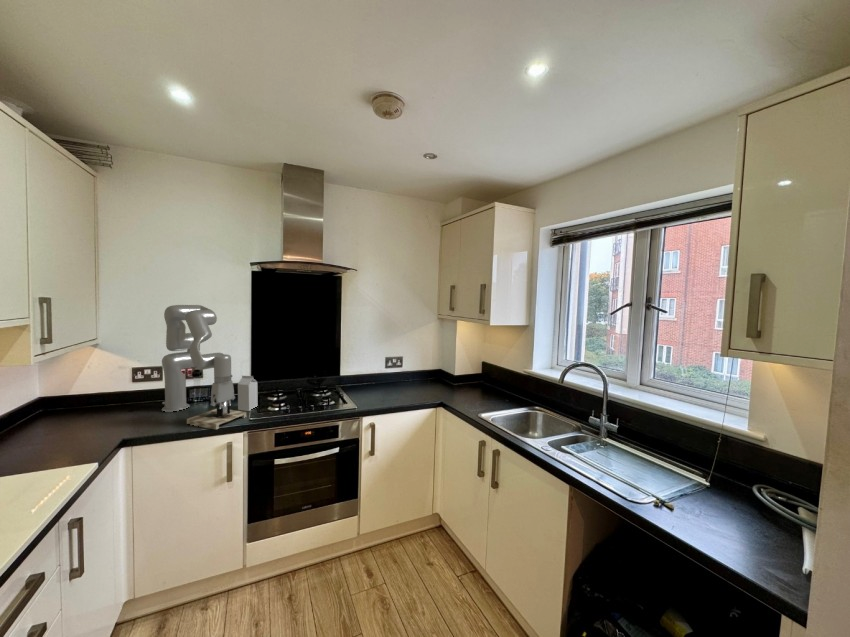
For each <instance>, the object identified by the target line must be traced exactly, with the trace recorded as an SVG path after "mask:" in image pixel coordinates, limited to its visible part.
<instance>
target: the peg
mask: <svg viewBox="0 0 850 637" xmlns="http://www.w3.org/2000/svg"><path fill="white" fill-rule="evenodd" d="M222 409H223V416H218V418H224V417H227V416H228V406H227V401H225V402H222ZM230 422H231V420H230V421H227V422H225V423H222V424H221V425H224V424H228V423H230Z"/></svg>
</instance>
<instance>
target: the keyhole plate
mask: <svg viewBox="0 0 850 637" xmlns="http://www.w3.org/2000/svg"><path fill="white" fill-rule="evenodd" d="M210 414H213V415H214V414H215V415H217V408H214V409H212V410H209V411H206V412H203V413H200V414H197V415H194V416H192V417H188V418H186V425H187V424H190V425H189V426H192V425H194V426H193V427H198V426H199V427H198V428H205V429H211V430H218V429H220V425H223V424H222V423H225V422H227V421H230V422H231V421H233V420H234V419H237V418H239V417H242V418H241V419H246V418H247V411H243V410H233V409H230V413H229V414H228V416H227V417H224V418H219V417H218V416H217V417H216V416H210V417H208V416H206V415H210ZM245 417H246V418H245ZM225 424H226V423H225Z"/></svg>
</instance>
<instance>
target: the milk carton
mask: <svg viewBox="0 0 850 637" xmlns="http://www.w3.org/2000/svg"><path fill="white" fill-rule="evenodd" d="M258 392H259V391H258V381H257V380H256V379H254V375H241V379H240V380H239V381H238V383H237V411H242V412H250V411H252V410H251V409H253V408H255V407H257V406H259V405H258V402H259V401H258V397H259V396H258ZM257 408H258V407H257ZM255 409H256V408H255ZM253 410H254V409H253Z"/></svg>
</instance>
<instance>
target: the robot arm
mask: <svg viewBox="0 0 850 637" xmlns="http://www.w3.org/2000/svg"><path fill="white" fill-rule="evenodd" d="M163 314H164V315H163V317H164V321H165V326H166V331H165V333H166V335H165V336H166V337H165V346H166V349H167V350H168V351H170V352H173V353H168V354H166V355H164V356H163V357H162V359H161V366H162V368H163V369H162V370H163V376H164V377H163V378H164V401H162V403H161V404H162V405H164V407H162V409H161V411H162V412H163V411H165V412H164V413H174V412H173V411H177V412H180V411H179V410H182V411H184V410H183V409H185V410H187V409H186V408H188V407H189V408H190V407H191V406H190V404H189V403H187V382H186V381H187V380H186V378H187V377H186V375H185V373H183V372H182V370H183V369H184V370H185V369H190V368H195V369H197V370H200V371H201V370H209V369H213V383H212V385H211V390H210V406H212V407H214V409H217V414H216V416H217V417H219V416H223V409H222V402H225V401H227V406H228V414H229V413H230V410H231V405H232V403H233V401H234V400H235V399H236V395H235V387H234V382H233V380H232V378H233V374H232V356H231V355H230V354H226V353H225V354H224V353H222V352H213V353H212V352H210V353H203V354H202V353H201V351H200V350H201V344H202V343H204V342H206V341H208V340H209V339H210V338H212V336H213V333H212V330H211V328H210V326H212V325H215V324H216V322H217V319H218V318H217V314H216V312H215V311H213V310H212V309H210V308H208V307H206V306H204V305H201V304H200V305H199V304H175V305H174V304H173V305H169V306H168V307H166V308H165V310H164V312H163ZM184 321H186V324H187V327H188V329H189V332H186V329H187V327H186V324H185V323H184ZM179 351H181V352H179ZM189 408H188V409H189Z"/></svg>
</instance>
